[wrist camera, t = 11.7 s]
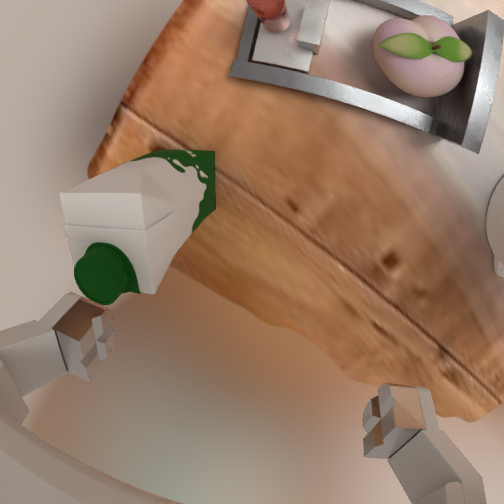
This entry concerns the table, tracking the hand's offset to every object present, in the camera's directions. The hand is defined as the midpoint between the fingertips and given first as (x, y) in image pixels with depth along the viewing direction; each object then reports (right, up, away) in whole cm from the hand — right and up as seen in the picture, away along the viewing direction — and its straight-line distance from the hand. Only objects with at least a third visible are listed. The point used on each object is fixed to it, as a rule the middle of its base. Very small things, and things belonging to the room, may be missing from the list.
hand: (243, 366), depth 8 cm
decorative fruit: (+17, +24, +18) cm, 34 cm away
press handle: (+5, +27, +18) cm, 33 cm away
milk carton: (-7, +12, +29) cm, 32 cm away
